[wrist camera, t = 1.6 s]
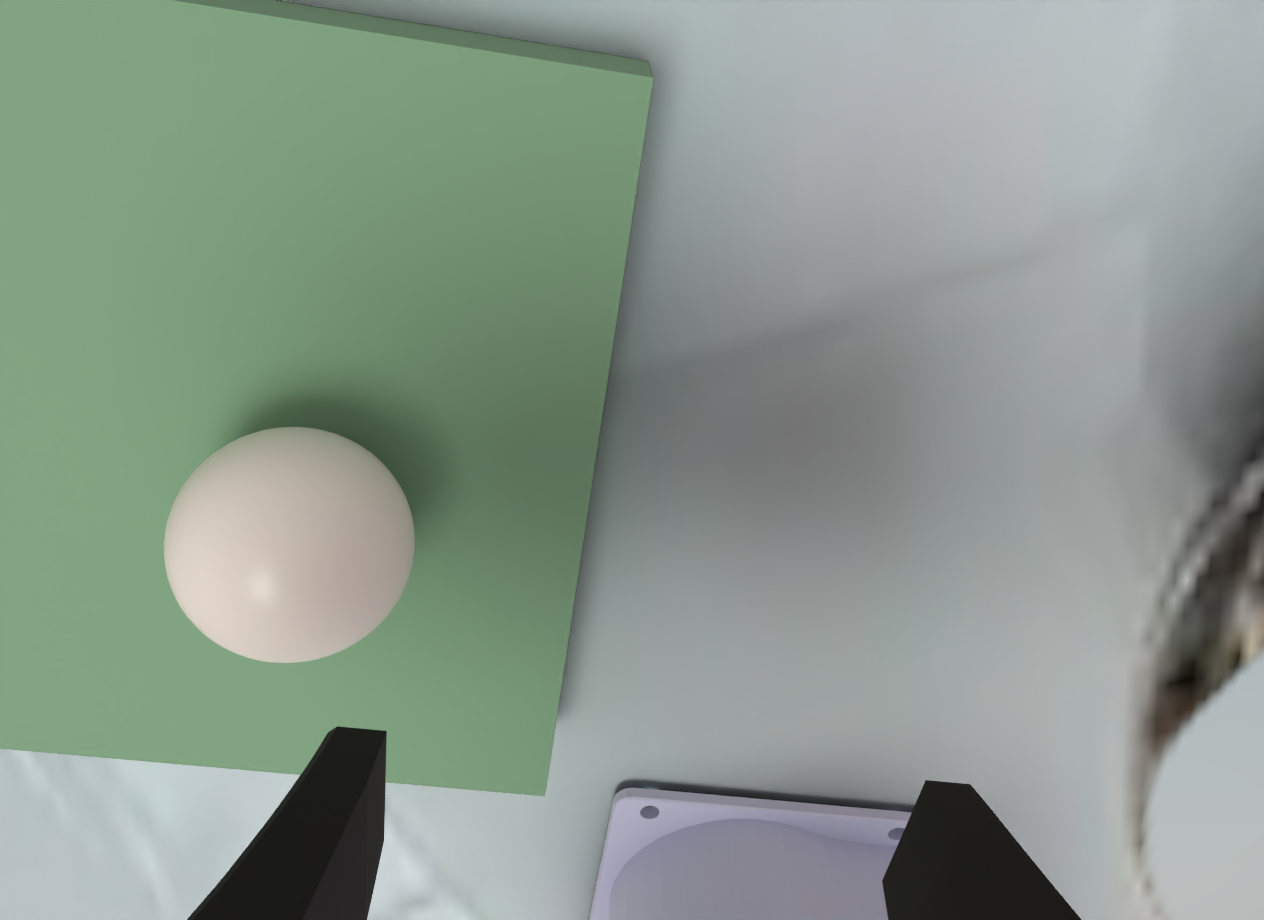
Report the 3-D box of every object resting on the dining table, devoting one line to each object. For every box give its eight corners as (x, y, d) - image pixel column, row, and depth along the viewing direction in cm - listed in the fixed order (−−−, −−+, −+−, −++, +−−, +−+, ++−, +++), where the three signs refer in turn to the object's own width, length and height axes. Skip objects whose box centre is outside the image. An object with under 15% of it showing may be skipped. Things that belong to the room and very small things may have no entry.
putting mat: (647, 61, 16) (652, 77, 14) (550, 718, 24) (544, 795, 22) (-607, -144, 14) (-826, -161, 12) (-275, 640, 22) (-373, 715, 20)
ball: (437, 403, 17) (391, 524, 13) (428, 579, 18) (385, 726, 15) (211, 375, 16) (100, 491, 13) (225, 557, 18) (133, 702, 15)
